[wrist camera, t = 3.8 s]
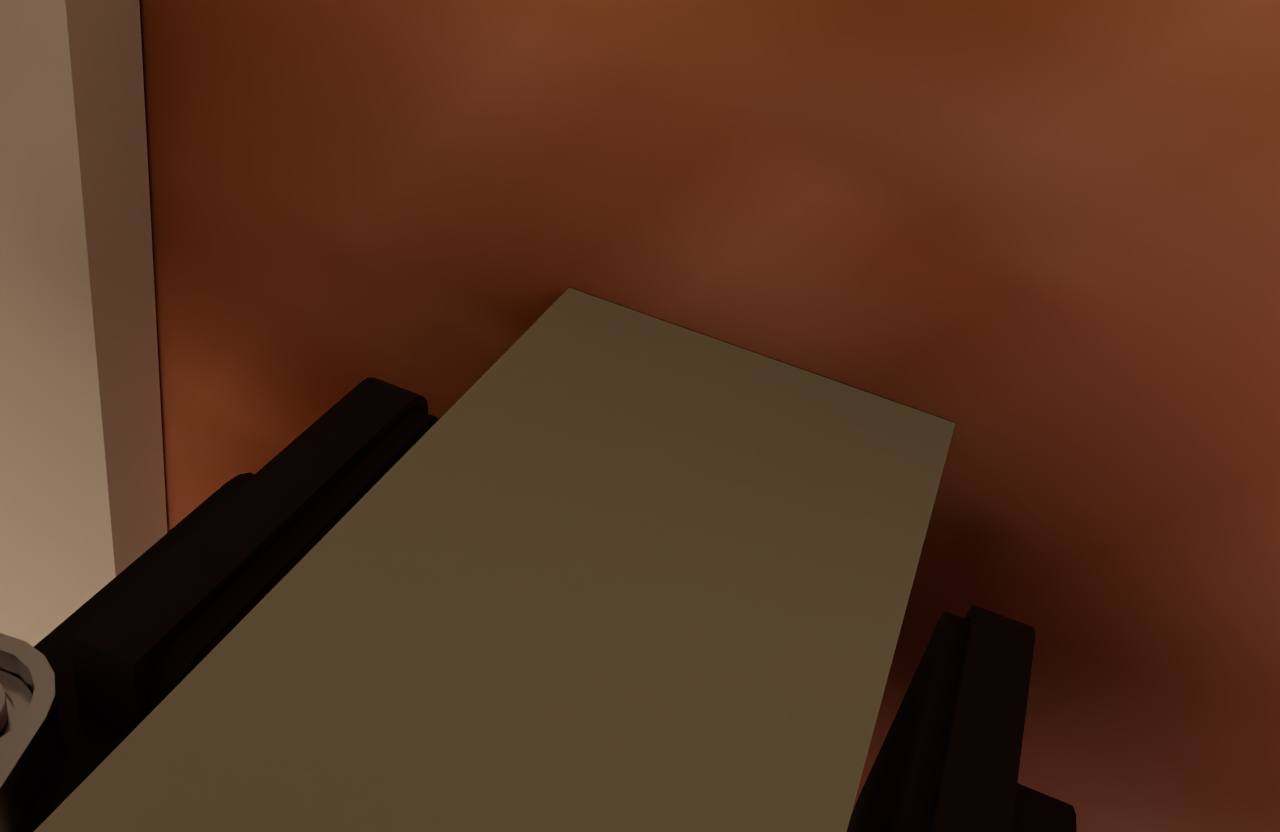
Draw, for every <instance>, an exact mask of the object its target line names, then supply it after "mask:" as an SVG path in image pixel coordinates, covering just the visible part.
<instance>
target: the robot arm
mask: <svg viewBox="0 0 1280 832" xmlns="http://www.w3.org/2000/svg"><path fill="white" fill-rule="evenodd" d="M438 420H439V419H438V418H437V417H434V416H432V415H429V414H428V404H427V400H426V399H425V398H424V397H423V396H421V395H419V394H416V393H413V392H411V391H408V390H405V389H403V388H400V387H397V386H395V385H392V384H390V383H387V382H384V381H382V380H379V379H376V378H367V379H365V380H364V381H362V382H361V383H359V384H358V385H357V386H356V387H355V388H354V389H353V390H351V391H350V392H349V393H348V394H347V395H346V396H345V397H343V398H342V399H341V400H340V401H339V402H338V403H336V404H335V405H334V406H333V407H332V408H331V409H330V410H328V411H327V412H326V413H325V414H324V415H323V416H322V417H320V418H319V419H318V420H317V421H316V422H315V423H313V424H312V425H311V426H310V427H309V428H308V429H307V430H305V431H304V432H303V433H302V434H301V435H300V436H299V437H297V438H296V439H295V440H294V441H293V442H292V443H291V444H289V445H288V446H287V447H286V448H285V449H284V450H282V451H281V452H280V453H279V454H278V455H277V456H276V457H274V458H273V459H272V460H271V461H270V462H269V463H268V464H266V465H265V466H264V467H263V468H262V469H261V470H259V471H258V472H257V473H256V474H253V473H245V474H240V475H238V476H236V477H234V478H233V479H231V480H230V481H228V482H227V483H225V484H224V485H223V486H222V487H221V488H220V489H218V490H217V491H216V492H215V493H214V494H212V495H211V496H210V497H209V498H208V499H207V500H205V501H204V502H203V503H202V504H201V505H200V506H198V507H197V508H196V509H195V510H194V511H193V512H191V513H190V514H189V515H188V516H187V517H185V518H184V519H183V520H182V521H181V522H180V523H178V524H177V525H176V526H175V527H174V528H173V529H171V530H170V531H169V532H168V533H167V534H165V535H164V536H163V537H162V538H161V539H160V540H158V541H157V542H156V543H155V544H154V545H153V546H151V547H150V548H149V549H148V550H147V551H146V552H144V553H143V554H142V555H141V556H140V557H138V558H137V559H136V560H135V561H134V562H133V563H131V564H130V565H129V566H128V567H127V568H126V569H124V570H123V571H122V572H121V573H120V574H119V575H117V576H116V577H115V578H114V579H113V580H111V581H110V582H109V583H108V584H107V585H106V586H104V587H103V588H102V589H101V590H100V591H99V592H97V593H96V594H95V595H94V596H93V597H92V598H90V599H89V600H88V601H87V602H86V603H84V604H83V605H82V606H81V607H80V608H79V609H77V610H76V611H75V612H74V613H73V614H72V615H70V616H69V617H68V618H67V619H66V620H65V621H63V622H62V623H61V624H60V625H59V626H57V627H56V628H55V629H54V630H53V631H52V632H50V633H49V634H48V635H47V636H46V637H45V638H43V639H42V640H41V641H40V642H39V643H38V644H36V645H35V646H34V647H33V646H31V645H30V644H29V643H27V642H26V641H23V640H20V639H17V638H14V637H11V636H8V635H5V634H2V633H0V832H34V831H35V830H36V829H37V828H38V827H39V826H40V825H41V824H42V823H43V822H44V821H45V820H46V819H47V818H48V817H49V816H50V815H51V814H52V813H53V812H54V811H55V810H56V809H57V808H58V807H59V805H60V804H61V803H62V802H63V801H64V800H65V799H66V798H67V797H68V796H69V795H70V794H71V793H72V792H73V791H74V790H75V789H76V788H77V787H78V786H79V785H80V784H81V783H82V782H83V781H84V780H85V779H86V778H87V777H88V776H89V775H90V774H91V773H92V772H93V771H94V770H95V769H96V768H97V767H98V766H99V765H100V764H101V763H102V762H103V761H104V760H105V759H106V758H107V757H108V756H109V755H110V754H111V753H112V752H113V751H114V750H115V749H116V748H117V747H118V746H119V745H120V743H121V742H122V741H123V740H124V739H125V738H126V737H127V736H128V735H129V734H130V733H131V732H132V731H133V730H134V729H135V728H136V727H137V726H138V725H139V724H140V723H141V722H142V721H143V720H144V719H145V718H146V717H147V716H148V715H149V714H150V713H151V712H152V711H153V710H154V709H155V708H156V707H157V706H158V705H159V704H160V703H161V702H162V701H163V700H164V699H165V698H166V697H167V696H168V695H169V694H170V693H171V692H172V691H173V690H174V689H175V688H176V687H177V686H178V685H179V684H180V683H181V681H182V680H183V679H184V678H185V677H186V676H187V675H188V674H189V673H190V672H191V671H192V670H193V669H194V668H195V667H196V666H197V665H198V664H199V663H200V662H201V661H202V660H203V659H204V658H205V657H206V656H207V655H208V654H209V653H210V652H211V651H212V650H213V649H214V648H215V647H216V646H217V645H218V644H219V643H220V642H221V641H222V640H223V639H224V638H225V637H226V636H227V635H228V634H229V633H230V632H231V631H232V630H233V629H234V628H235V627H236V626H237V625H238V624H239V623H240V622H241V621H242V619H243V618H244V617H245V616H246V615H247V614H248V613H249V612H250V611H251V610H252V609H253V608H254V607H255V606H256V605H257V604H258V603H259V602H260V601H261V600H262V599H263V598H264V597H265V596H266V595H267V594H268V593H269V592H270V591H271V590H272V589H273V588H274V587H275V586H276V585H277V584H278V583H279V582H280V581H281V580H282V579H283V578H284V577H285V576H286V575H287V574H288V573H289V572H290V571H291V570H292V569H293V568H294V567H295V566H296V565H297V564H298V563H299V562H300V561H301V560H302V558H303V557H304V556H305V555H306V554H307V553H308V552H309V551H310V550H311V549H312V548H313V547H314V546H315V545H316V544H317V543H318V542H319V541H320V540H321V539H322V538H323V537H324V536H325V535H326V534H327V533H328V532H329V531H330V530H331V529H332V528H333V527H334V526H335V525H336V524H337V523H338V522H339V521H340V520H341V519H342V518H343V517H344V516H345V515H346V514H347V513H348V512H349V511H350V510H351V509H352V508H353V507H354V506H355V505H356V504H357V503H358V502H359V501H360V500H361V499H362V498H363V496H364V495H365V494H366V493H367V492H368V491H369V490H370V489H371V488H372V487H373V486H374V485H375V484H376V483H377V482H378V481H379V480H380V479H381V478H382V477H383V476H384V475H385V474H386V473H387V472H388V471H389V470H390V469H391V468H392V467H393V466H394V465H395V464H396V463H397V462H398V461H399V460H400V459H401V458H402V457H403V456H404V455H405V454H406V453H407V452H408V451H409V450H410V449H411V448H412V447H413V446H414V445H415V444H416V443H417V442H418V441H419V440H420V439H421V438H422V437H423V436H424V434H425V433H426V432H427V431H428V430H429V429H430V428H431V427H432V426H433V425H434V424H435V423H436V422H437V421H438ZM1034 641H1035V630H1034V628H1033V627H1030V626H1028V625H1025V624H1022V623H1020V622H1017V621H1015V620H1012V619H1009V618H1007V617H1004V616H1001V615H999V614H996V613H993V612H991V611H988V610H986V609H983V608H980V607H978V606H975V605H974V606H972V607H971V608H970V610H969V611H968V613H967V615H966V617H965V619H963V618H961V617H958V616H955V615H953V614H950V613H948V612H944V613H943V614H942V616H941V618H940V620H939V622H938V624H937V626H936V628H935V631H934V633H933V635H932V637H931V639H930V642H929V644H928V646H927V648H926V650H925V653H924V655H923V657H922V659H921V661H920V664H919V666H918V668H917V670H916V672H915V675H914V677H913V679H912V681H911V683H910V686H909V688H908V690H907V692H906V694H905V697H904V699H903V701H902V703H901V705H900V708H899V710H898V712H897V714H896V716H895V719H894V721H893V723H892V725H891V727H890V730H889V732H888V734H887V736H886V738H885V741H884V743H883V745H882V747H881V749H880V752H879V754H878V756H877V758H876V760H875V763H874V765H873V767H872V769H871V771H870V774H869V776H868V778H867V780H866V782H865V785H864V787H863V789H862V791H861V793H860V796H859V798H858V800H857V803H856V805H855V808H854V810H853V813H852V816H851V819H850V821H849V825H848V829H847V832H1076V813H1075V810H1074V807H1073V806H1072V805H1070V804H1067V803H1065V802H1062V801H1060V800H1057V799H1055V798H1052V797H1050V796H1047V795H1045V794H1042V793H1040V792H1037V791H1035V790H1033V789H1030V788H1028V787H1025V786H1023V785H1020V784H1018V783H1017V781H1018V772H1019V764H1020V756H1021V748H1022V740H1023V732H1024V723H1025V715H1026V707H1027V699H1028V691H1029V682H1030V674H1031V666H1032V658H1033V650H1034Z"/></svg>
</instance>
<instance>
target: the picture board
mask: <svg viewBox="0 0 1280 832" xmlns="http://www.w3.org/2000/svg"><path fill="white" fill-rule="evenodd" d="M165 534H167V516H166V497H165V478H164V459H163V440H162V421H161V402H160V383H159V364H158V345H157V326H156V308H155V289H154V270H153V251H152V232H151V213H150V194H149V175H148V156H147V137H146V118H145V99H144V80H143V61H142V42H141V23H140V5H139V0H0V633H2V634H5V635H8V636H11V637H14V638H17V639H20V640H23V641H26V642H27V643H29V644H30V645H31V646H33V647H34V646H35V645H36V644H38V643H39V642H40V641H41V640H42V639H43V638H45V637H46V636H47V635H48V634H49V633H50V632H52V631H53V630H54V629H55V628H56V627H57V626H59V625H60V624H61V623H62V622H63V621H65V620H66V619H67V618H68V617H69V616H70V615H72V614H73V613H74V612H75V611H76V610H77V609H79V608H80V607H81V606H82V605H83V604H84V603H86V602H87V601H88V600H89V599H90V598H92V597H93V596H94V595H95V594H96V593H97V592H99V591H100V590H101V589H102V588H103V587H104V586H106V585H107V584H108V583H109V582H110V581H111V580H113V579H114V578H115V577H116V576H117V575H119V574H120V573H121V572H122V571H123V570H124V569H126V568H127V567H128V566H129V565H130V564H131V563H133V562H134V561H135V560H136V559H137V558H138V557H140V556H141V555H142V554H143V553H144V552H146V551H147V550H148V549H149V548H150V547H151V546H153V545H154V544H155V543H156V542H157V541H158V540H160V539H161V538H162V537H163V536H164V535H165Z"/></svg>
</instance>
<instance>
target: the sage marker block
mask: <svg viewBox="0 0 1280 832" xmlns="http://www.w3.org/2000/svg"><path fill="white" fill-rule="evenodd" d="M954 427H955V423H954V422H951V421H948V420H945V419H942V418H939V417H936V416H934V415H931V414H928V413H925V412H922V411H919V410H917V409H914V408H911V407H908V406H905V405H902V404H899V403H897V402H894V401H891V400H888V399H885V398H882V397H879V396H877V395H874V394H871V393H868V392H865V391H862V390H859V389H857V388H854V387H851V386H848V385H845V384H842V383H840V382H837V381H834V380H831V379H828V378H825V377H822V376H820V375H817V374H814V373H811V372H808V371H805V370H802V369H800V368H797V367H794V366H791V365H788V364H785V363H783V362H780V361H777V360H774V359H771V358H768V357H765V356H763V355H760V354H757V353H754V352H751V351H748V350H745V349H743V348H740V347H737V346H734V345H731V344H728V343H725V342H723V341H720V340H717V339H714V338H711V337H708V336H706V335H703V334H700V333H697V332H694V331H691V330H688V329H686V328H683V327H680V326H677V325H674V324H671V323H668V322H666V321H663V320H660V319H657V318H654V317H651V316H649V315H646V314H643V313H640V312H637V311H634V310H631V309H629V308H626V307H623V306H620V305H617V304H614V303H611V302H609V301H606V300H603V299H600V298H597V297H594V296H591V295H589V294H586V293H583V292H580V291H577V290H574V289H572V288H568V289H567V290H566V291H565V292H564V293H563V294H562V295H561V296H560V297H559V298H558V299H557V300H556V301H555V302H554V303H553V304H552V305H551V306H550V307H549V308H548V309H547V310H546V312H545V313H544V314H543V315H542V316H541V317H540V318H539V319H538V320H537V321H536V322H535V323H534V324H533V325H532V326H531V327H530V328H529V329H528V330H527V331H526V332H525V333H524V334H523V335H522V336H521V337H520V338H519V339H518V340H517V341H516V342H515V343H514V344H513V345H512V346H511V347H510V348H509V349H508V350H507V351H506V352H505V353H504V354H503V355H502V356H501V357H500V358H499V359H498V360H497V361H496V362H495V363H494V364H493V365H492V366H491V367H490V368H489V369H488V370H487V371H486V372H485V374H484V375H483V376H482V377H481V378H480V379H479V380H478V381H477V382H476V383H475V384H474V385H473V386H472V387H471V388H470V389H469V390H468V391H467V392H466V393H465V394H464V395H463V396H462V397H461V398H460V399H459V400H458V401H457V402H456V403H455V404H454V405H453V406H452V407H451V408H450V409H449V410H448V411H447V412H446V413H445V414H444V415H443V416H442V417H441V418H440V419H439V420H438V421H437V422H436V423H435V424H434V425H433V426H432V427H431V428H430V429H429V430H428V431H427V432H426V433H425V434H424V436H423V437H422V438H421V439H420V440H419V441H418V442H417V443H416V444H415V445H414V446H413V447H412V448H411V449H410V450H409V451H408V452H407V453H406V454H405V455H404V456H403V457H402V458H401V459H400V460H399V461H398V462H397V463H396V464H395V465H394V466H393V467H392V468H391V469H390V470H389V471H388V472H387V473H386V474H385V475H384V476H383V477H382V478H381V479H380V480H379V481H378V482H377V483H376V484H375V485H374V486H373V487H372V488H371V489H370V490H369V491H368V492H367V493H366V494H365V495H364V496H363V498H362V499H361V500H360V501H359V502H358V503H357V504H356V505H355V506H354V507H353V508H352V509H351V510H350V511H349V512H348V513H347V514H346V515H345V516H344V517H343V518H342V519H341V520H340V521H339V522H338V523H337V524H336V525H335V526H334V527H333V528H332V529H331V530H330V531H329V532H328V533H327V534H326V535H325V536H324V537H323V538H322V539H321V540H320V541H319V542H318V543H317V544H316V545H315V546H314V547H313V548H312V549H311V550H310V551H309V552H308V553H307V554H306V555H305V556H304V557H303V558H302V560H301V561H300V562H299V563H298V564H297V565H296V566H295V567H294V568H293V569H292V570H291V571H290V572H289V573H288V574H287V575H286V576H285V577H284V578H283V579H282V580H281V581H280V582H279V583H278V584H277V585H276V586H275V587H274V588H273V589H272V590H271V591H270V592H269V593H268V594H267V595H266V596H265V597H264V598H263V599H262V600H261V601H260V602H259V603H258V604H257V605H256V606H255V607H254V608H253V609H252V610H251V611H250V612H249V613H248V614H247V615H246V616H245V617H244V618H243V619H242V621H241V622H240V623H239V624H238V625H237V626H236V627H235V628H234V629H233V630H232V631H231V632H230V633H229V634H228V635H227V636H226V637H225V638H224V639H223V640H222V641H221V642H220V643H219V644H218V645H217V646H216V647H215V648H214V649H213V650H212V651H211V652H210V653H209V654H208V655H207V656H206V657H205V658H204V659H203V660H202V661H201V662H200V663H199V664H198V665H197V666H196V667H195V668H194V669H193V670H192V671H191V672H190V673H189V674H188V675H187V676H186V677H185V678H184V679H183V680H182V681H181V683H180V684H179V685H178V686H177V687H176V688H175V689H174V690H173V691H172V692H171V693H170V694H169V695H168V696H167V697H166V698H165V699H164V700H163V701H162V702H161V703H160V704H159V705H158V706H157V707H156V708H155V709H154V710H153V711H152V712H151V713H150V714H149V715H148V716H147V717H146V718H145V719H144V720H143V721H142V722H141V723H140V724H139V725H138V726H137V727H136V728H135V729H134V730H133V731H132V732H131V733H130V734H129V735H128V736H127V737H126V738H125V739H124V740H123V741H122V742H121V743H120V745H119V746H118V747H117V748H116V749H115V750H114V751H113V752H112V753H111V754H110V755H109V756H108V757H107V758H106V759H105V760H104V761H103V762H102V763H101V764H100V765H99V766H98V767H97V768H96V769H95V770H94V771H93V772H92V773H91V774H90V775H89V776H88V777H87V778H86V779H85V780H84V781H83V782H82V783H81V784H80V785H79V786H78V787H77V788H76V789H75V790H74V791H73V792H72V793H71V794H70V795H69V796H68V797H67V798H66V799H65V800H64V801H63V802H62V803H61V804H60V805H59V807H58V808H57V809H56V810H55V811H54V812H53V813H52V814H51V815H50V816H49V817H48V818H47V819H46V820H45V821H44V822H43V823H42V824H41V825H40V826H39V827H38V828H37V829H36V830H35V831H34V832H847V829H848V825H849V821H850V817H851V814H852V810H853V806H854V802H855V799H856V795H857V791H858V787H859V784H860V780H861V776H862V772H863V769H864V765H865V761H866V757H867V754H868V750H869V746H870V742H871V739H872V735H873V731H874V727H875V724H876V720H877V716H878V712H879V709H880V705H881V701H882V697H883V694H884V690H885V686H886V682H887V679H888V675H889V671H890V667H891V664H892V660H893V656H894V652H895V649H896V645H897V641H898V637H899V633H900V630H901V626H902V622H903V618H904V615H905V611H906V607H907V603H908V600H909V596H910V592H911V588H912V585H913V581H914V577H915V573H916V570H917V566H918V562H919V558H920V555H921V551H922V547H923V543H924V540H925V536H926V532H927V528H928V525H929V521H930V517H931V513H932V510H933V506H934V502H935V498H936V495H937V491H938V487H939V483H940V480H941V476H942V472H943V468H944V465H945V461H946V457H947V453H948V450H949V446H950V442H951V438H952V435H953V431H954Z"/></svg>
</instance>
